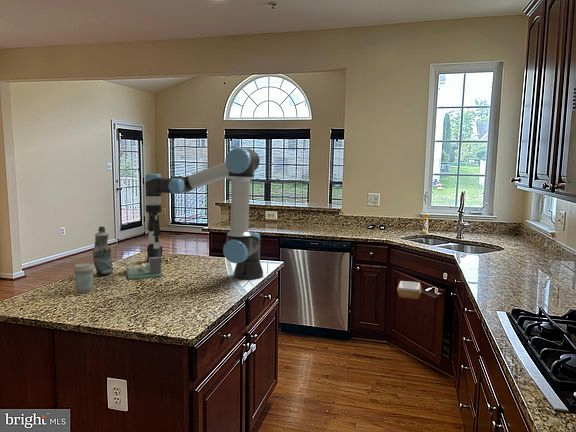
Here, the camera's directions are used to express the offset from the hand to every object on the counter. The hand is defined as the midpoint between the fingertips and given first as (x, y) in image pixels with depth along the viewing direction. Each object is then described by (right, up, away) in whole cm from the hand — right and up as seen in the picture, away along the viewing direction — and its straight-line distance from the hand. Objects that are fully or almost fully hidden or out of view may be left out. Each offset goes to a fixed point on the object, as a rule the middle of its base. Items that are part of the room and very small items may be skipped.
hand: (154, 246), depth 215 cm
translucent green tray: (-7, -15, +4) cm, 16 cm away
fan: (-6, -13, +12) cm, 18 cm away
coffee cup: (-21, -18, -29) cm, 40 cm away
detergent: (-25, -15, 0) cm, 30 cm away
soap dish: (+122, -20, -27) cm, 127 cm away
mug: (-9, -12, +32) cm, 35 cm away
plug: (0, -14, +1) cm, 14 cm away
